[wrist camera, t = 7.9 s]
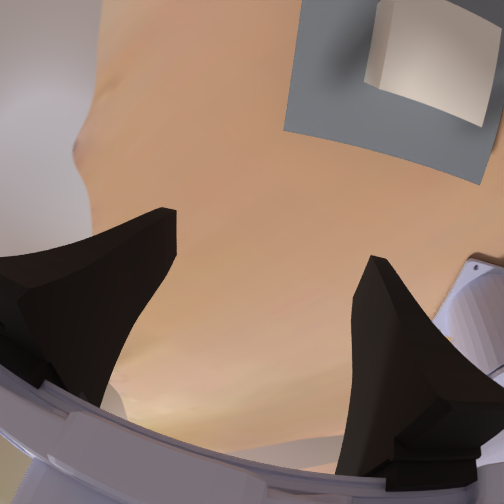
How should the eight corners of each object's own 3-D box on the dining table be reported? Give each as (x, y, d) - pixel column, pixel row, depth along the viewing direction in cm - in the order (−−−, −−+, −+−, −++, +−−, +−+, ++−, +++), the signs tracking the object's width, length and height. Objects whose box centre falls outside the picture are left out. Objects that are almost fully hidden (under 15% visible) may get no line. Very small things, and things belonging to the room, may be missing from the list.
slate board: (499, 8, 10) (517, 4, 8) (465, 171, 17) (479, 185, 15) (313, -54, 11) (311, -69, 9) (288, 122, 18) (283, 130, 16)
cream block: (457, 33, 11) (501, 28, 7) (442, 107, 13) (481, 127, 9) (377, 4, 11) (396, -18, 7) (363, 81, 14) (378, 88, 10)
